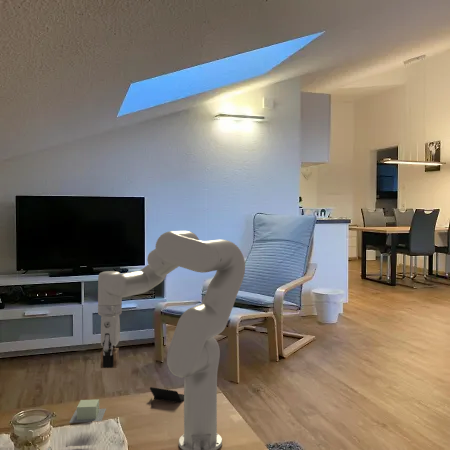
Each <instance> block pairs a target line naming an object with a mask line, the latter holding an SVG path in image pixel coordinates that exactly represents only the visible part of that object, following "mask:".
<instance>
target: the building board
mask: <svg viewBox="0 0 450 450" xmlns="http://www.w3.org/2000/svg"><path fill="white" fill-rule="evenodd" d="M106 410H107V408H99V413H98V415H97V418H96V419H82V420H77V409H75V411H74V413H73V415H72V416H71V419H70V420H69V422H68V423H69V424H75V423H92V422H91V421H101V422H102V420H103V418H104V416H105V412H106Z"/></svg>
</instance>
